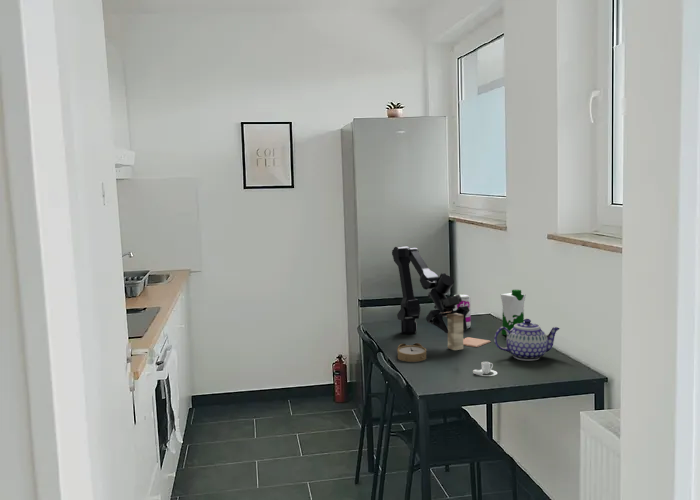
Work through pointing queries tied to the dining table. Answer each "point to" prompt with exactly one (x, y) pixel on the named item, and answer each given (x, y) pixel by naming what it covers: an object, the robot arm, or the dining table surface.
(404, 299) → the robot arm
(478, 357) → the dining table surface
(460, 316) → the ash post
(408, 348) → the alarm clock
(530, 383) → the dining table surface
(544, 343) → the teapot
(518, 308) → the milk carton
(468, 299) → the supplement can
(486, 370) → the teacup and saucer
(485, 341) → the terracotta tile
